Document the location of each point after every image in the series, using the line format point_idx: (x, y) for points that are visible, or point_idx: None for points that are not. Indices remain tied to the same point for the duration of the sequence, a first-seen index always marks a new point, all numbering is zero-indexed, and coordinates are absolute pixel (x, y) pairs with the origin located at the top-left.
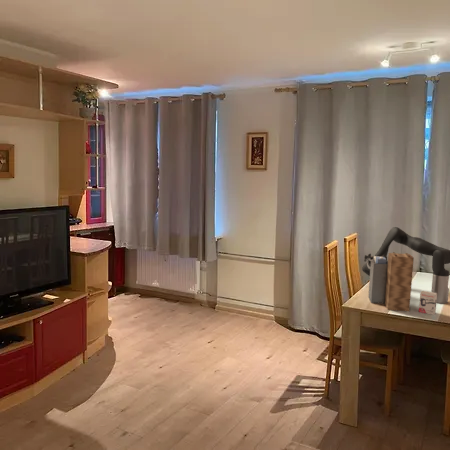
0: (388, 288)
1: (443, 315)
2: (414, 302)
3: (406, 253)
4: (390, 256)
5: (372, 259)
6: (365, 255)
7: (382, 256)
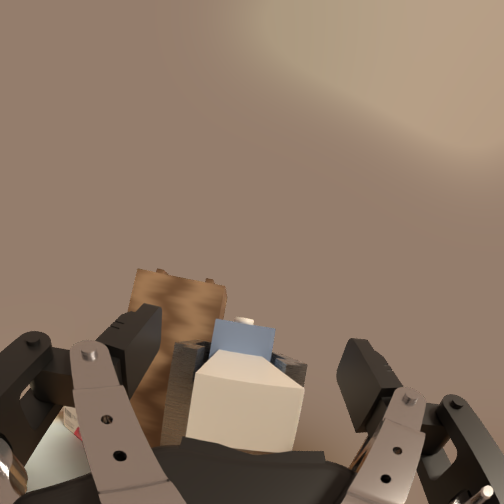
0: None
1: (60, 414)
2: (37, 476)
3: (165, 272)
4: (225, 299)
5: (295, 362)
6: (450, 398)
7: (131, 356)
